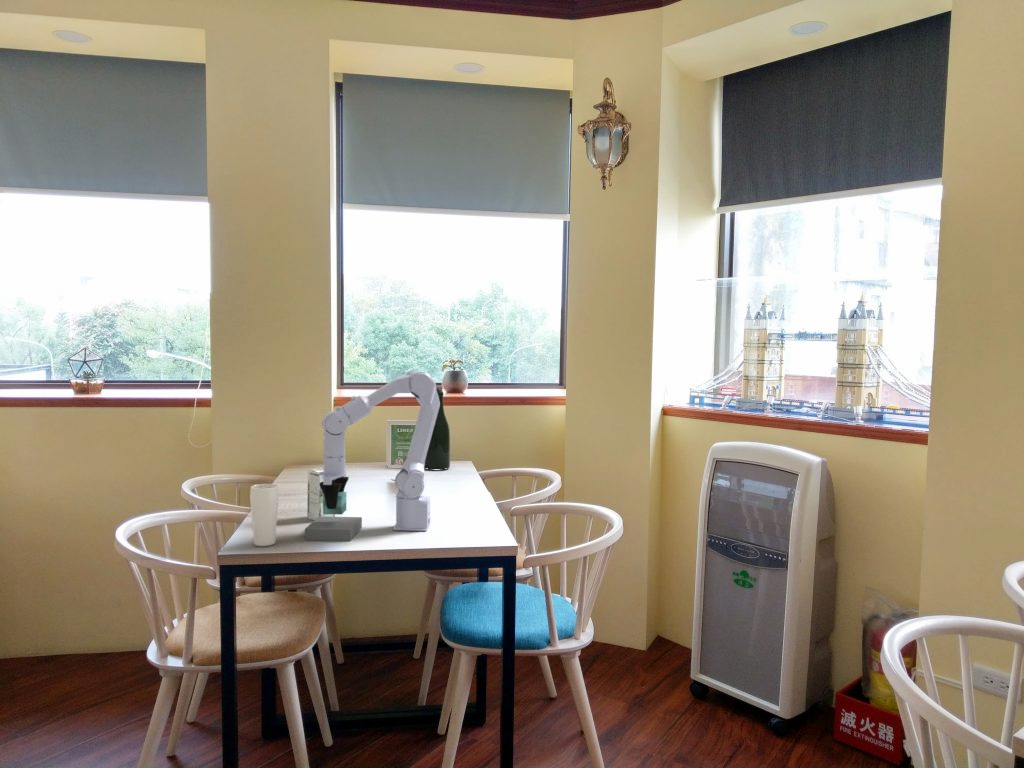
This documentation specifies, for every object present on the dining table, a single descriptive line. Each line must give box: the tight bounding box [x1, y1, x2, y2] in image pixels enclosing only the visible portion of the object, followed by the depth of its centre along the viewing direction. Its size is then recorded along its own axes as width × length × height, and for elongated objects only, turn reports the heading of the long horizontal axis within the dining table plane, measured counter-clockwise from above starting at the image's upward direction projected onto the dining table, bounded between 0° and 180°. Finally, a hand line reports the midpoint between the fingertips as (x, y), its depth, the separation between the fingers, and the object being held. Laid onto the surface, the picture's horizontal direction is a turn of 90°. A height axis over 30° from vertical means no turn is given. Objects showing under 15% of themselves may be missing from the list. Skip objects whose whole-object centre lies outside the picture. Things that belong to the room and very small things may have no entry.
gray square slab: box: [304, 516, 363, 542], centre depth 195 cm, size 12×13×3 cm
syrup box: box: [307, 467, 336, 521], centre depth 210 cm, size 6×6×14 cm
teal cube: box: [323, 491, 347, 515], centre depth 194 cm, size 5×5×5 cm
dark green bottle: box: [424, 387, 451, 469], centre depth 292 cm, size 10×10×33 cm
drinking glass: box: [249, 483, 279, 547], centre depth 183 cm, size 7×7×15 cm
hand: (334, 506), depth 194 cm, fingers closed on teal cube, 5 cm apart
